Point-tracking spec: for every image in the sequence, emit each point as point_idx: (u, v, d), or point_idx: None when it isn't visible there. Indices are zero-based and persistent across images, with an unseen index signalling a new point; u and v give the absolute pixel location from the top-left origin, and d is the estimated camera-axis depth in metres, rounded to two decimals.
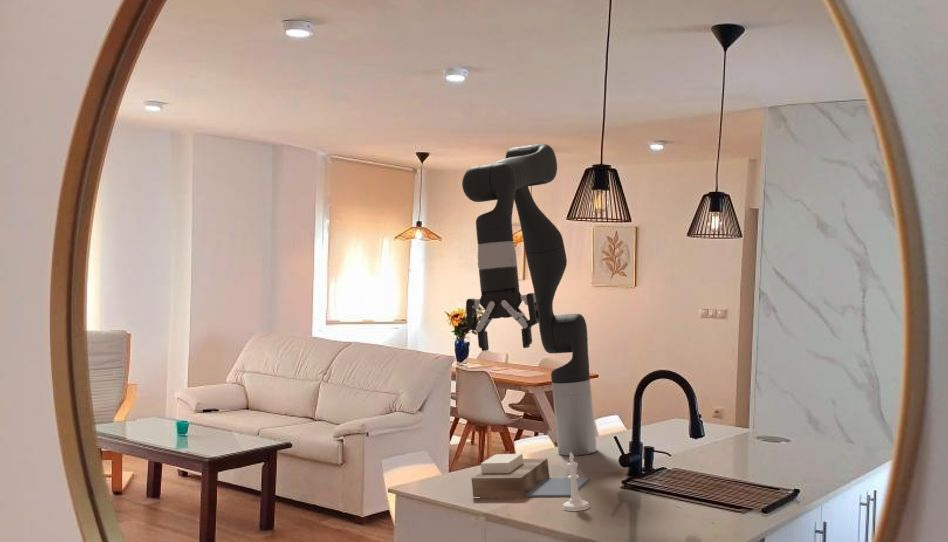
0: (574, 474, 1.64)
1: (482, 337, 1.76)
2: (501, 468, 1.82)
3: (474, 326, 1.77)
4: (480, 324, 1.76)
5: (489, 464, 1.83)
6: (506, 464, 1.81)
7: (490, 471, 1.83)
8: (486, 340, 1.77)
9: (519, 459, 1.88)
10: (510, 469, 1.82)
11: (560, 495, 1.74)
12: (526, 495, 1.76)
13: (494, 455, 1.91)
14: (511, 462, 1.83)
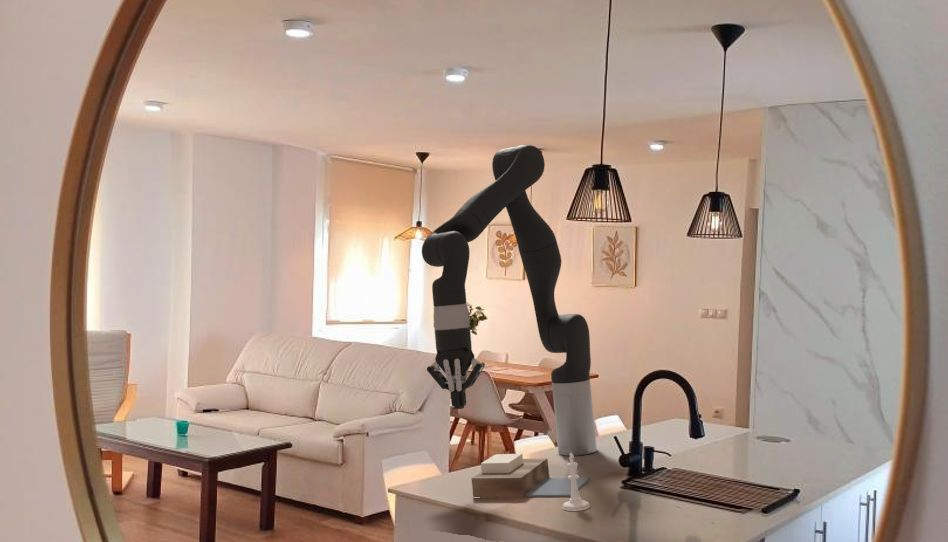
0: (574, 474, 1.64)
1: (455, 396, 1.89)
2: (501, 468, 1.82)
3: (447, 386, 1.90)
4: (450, 384, 1.89)
5: (489, 464, 1.83)
6: (506, 464, 1.81)
7: (490, 471, 1.83)
8: None
9: (519, 459, 1.88)
10: (510, 469, 1.82)
11: (560, 495, 1.74)
12: (526, 495, 1.76)
13: (494, 455, 1.91)
14: (511, 462, 1.83)
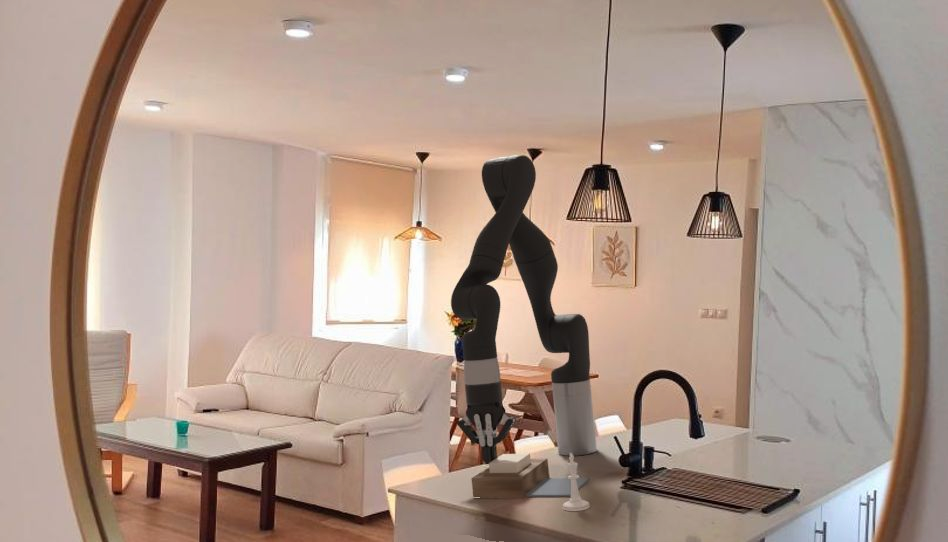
0: (574, 474, 1.64)
1: (485, 451, 1.87)
2: (509, 468, 1.81)
3: (478, 440, 1.88)
4: (481, 439, 1.87)
5: (497, 464, 1.82)
6: (514, 464, 1.81)
7: (498, 471, 1.82)
8: None
9: (527, 458, 1.87)
10: (518, 469, 1.81)
11: (560, 495, 1.74)
12: (526, 495, 1.76)
13: (501, 455, 1.90)
14: (519, 462, 1.82)
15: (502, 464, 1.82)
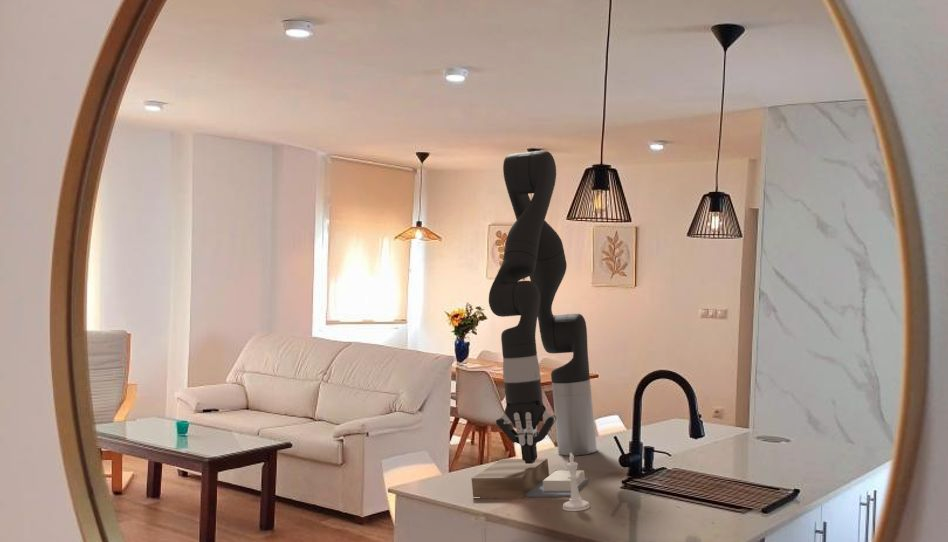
0: (574, 474, 1.64)
1: (525, 450, 1.84)
2: (550, 485, 1.78)
3: (518, 439, 1.84)
4: (521, 438, 1.84)
5: (563, 489, 1.77)
6: (545, 489, 1.78)
7: (562, 482, 1.77)
8: None
9: None
10: None
11: (560, 495, 1.74)
12: (526, 495, 1.76)
13: (582, 481, 1.83)
14: None
15: (558, 489, 1.77)
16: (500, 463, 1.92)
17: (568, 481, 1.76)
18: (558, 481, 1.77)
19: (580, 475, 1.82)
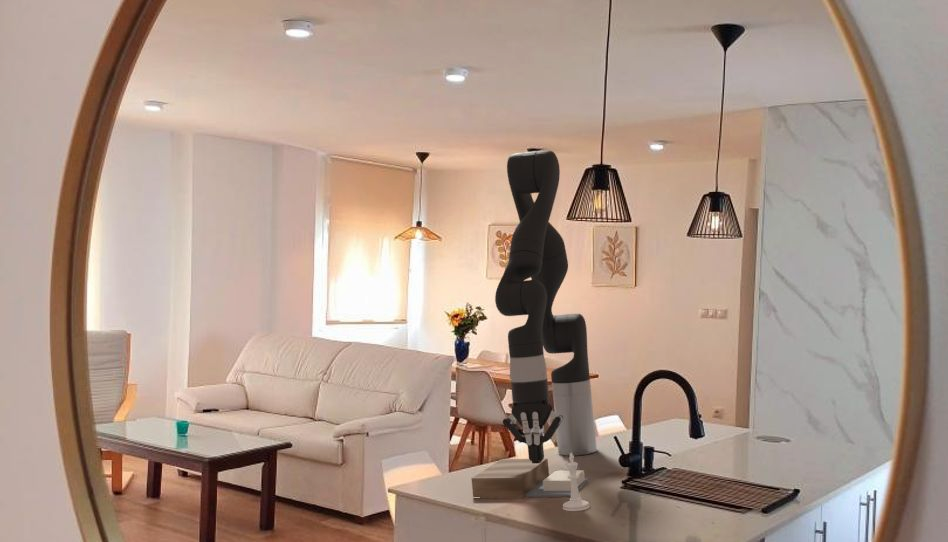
0: (574, 474, 1.64)
1: (532, 450, 1.83)
2: (550, 485, 1.78)
3: (524, 439, 1.84)
4: (528, 438, 1.83)
5: (563, 489, 1.77)
6: (545, 489, 1.78)
7: (562, 482, 1.77)
8: None
9: None
10: None
11: (560, 495, 1.74)
12: (526, 495, 1.76)
13: (582, 481, 1.83)
14: None
15: (558, 489, 1.77)
16: (500, 463, 1.92)
17: (568, 481, 1.76)
18: (558, 481, 1.77)
19: (580, 475, 1.82)
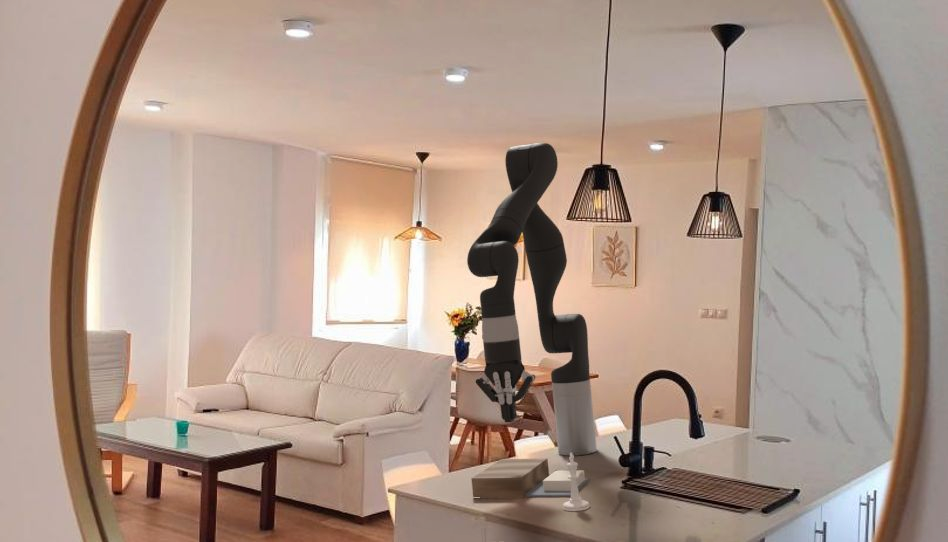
0: (574, 474, 1.64)
1: (505, 409, 1.85)
2: (550, 485, 1.78)
3: (497, 399, 1.86)
4: (500, 397, 1.85)
5: (563, 489, 1.77)
6: (545, 489, 1.78)
7: (562, 482, 1.77)
8: None
9: None
10: None
11: (560, 495, 1.74)
12: (526, 495, 1.76)
13: (582, 481, 1.83)
14: None
15: (558, 489, 1.77)
16: (500, 463, 1.92)
17: (568, 481, 1.76)
18: (558, 481, 1.77)
19: (580, 475, 1.82)
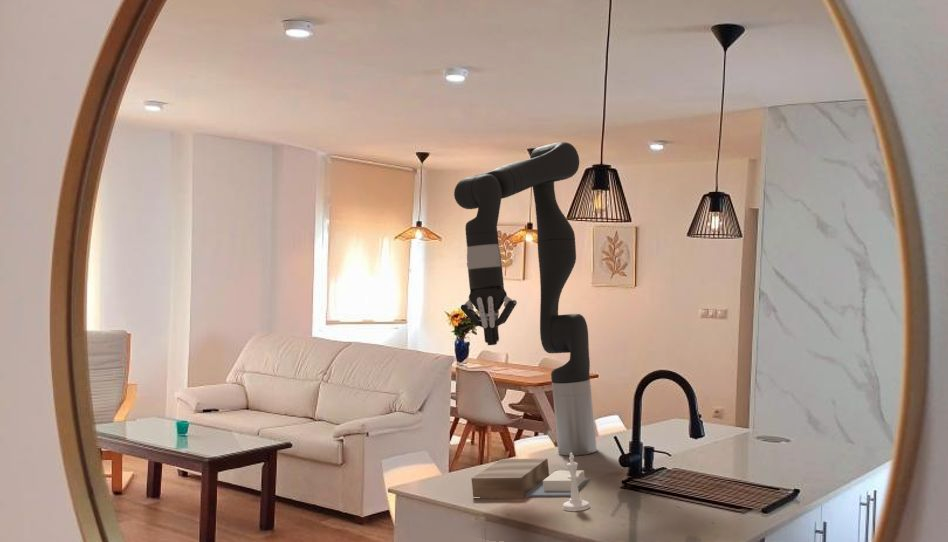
0: (574, 474, 1.64)
1: (488, 333, 1.97)
2: (550, 485, 1.78)
3: (481, 323, 1.98)
4: (484, 321, 1.97)
5: (563, 489, 1.77)
6: (545, 489, 1.78)
7: (562, 482, 1.77)
8: None
9: None
10: None
11: (560, 495, 1.74)
12: (526, 495, 1.76)
13: (582, 481, 1.83)
14: None
15: (558, 489, 1.77)
16: (500, 463, 1.92)
17: (568, 481, 1.76)
18: (558, 481, 1.77)
19: (580, 475, 1.82)
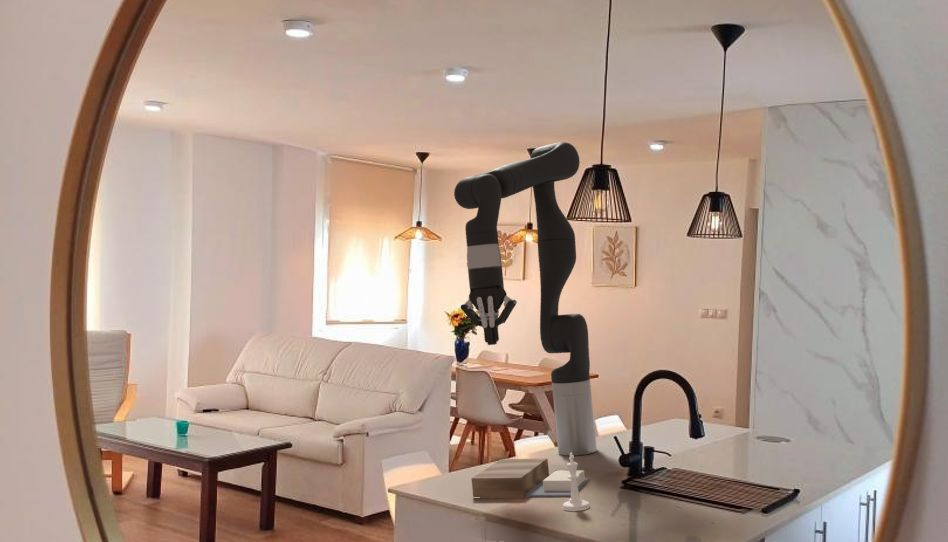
0: (574, 474, 1.64)
1: (488, 332, 1.97)
2: (550, 485, 1.78)
3: (481, 323, 1.98)
4: (484, 321, 1.97)
5: (563, 489, 1.77)
6: (545, 489, 1.78)
7: (562, 482, 1.77)
8: None
9: None
10: None
11: (560, 495, 1.74)
12: (526, 495, 1.76)
13: (582, 481, 1.83)
14: None
15: (558, 489, 1.77)
16: (500, 463, 1.92)
17: (568, 481, 1.76)
18: (558, 481, 1.77)
19: (580, 475, 1.82)
